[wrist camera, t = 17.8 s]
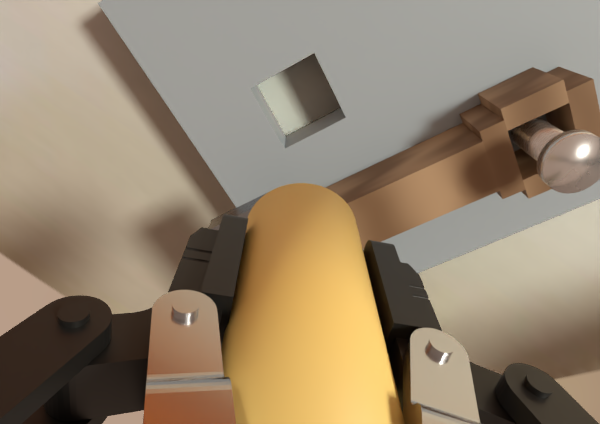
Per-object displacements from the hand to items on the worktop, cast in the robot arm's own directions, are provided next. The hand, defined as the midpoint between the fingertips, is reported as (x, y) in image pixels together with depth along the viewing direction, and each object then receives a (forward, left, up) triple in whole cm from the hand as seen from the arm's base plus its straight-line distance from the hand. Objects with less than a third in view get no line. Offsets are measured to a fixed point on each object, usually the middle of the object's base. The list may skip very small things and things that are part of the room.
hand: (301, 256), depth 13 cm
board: (-3, -6, -19) cm, 20 cm away
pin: (0, 0, -1) cm, 1 cm away
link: (-8, -5, -17) cm, 19 cm away
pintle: (-8, -12, -19) cm, 24 cm away
